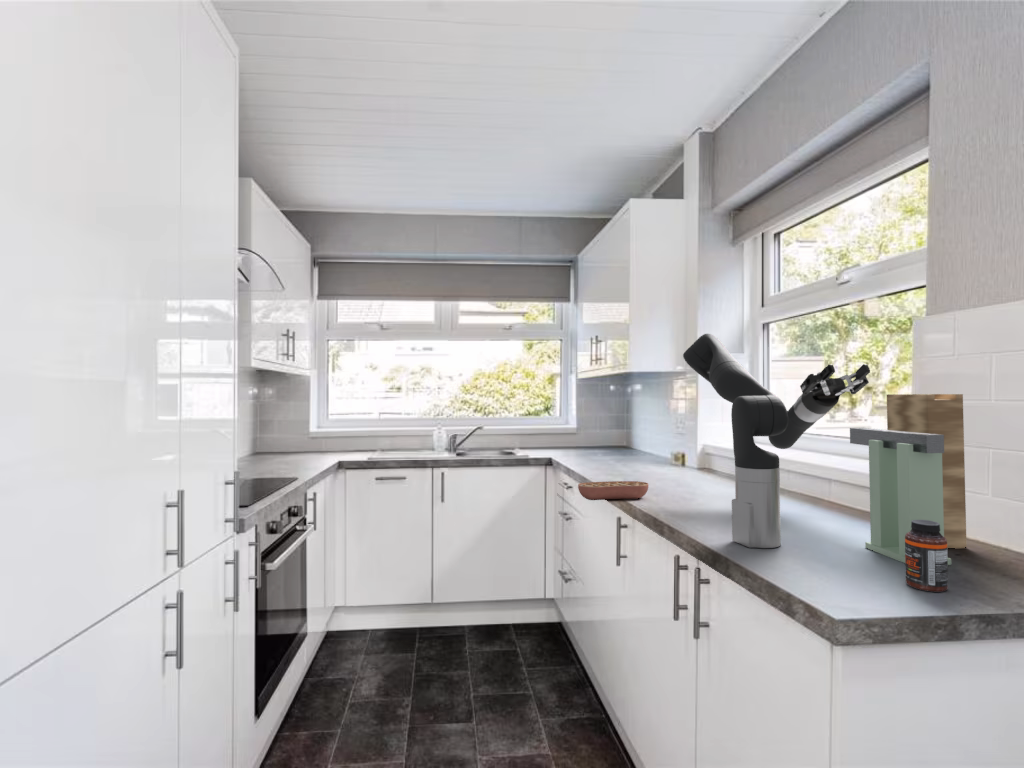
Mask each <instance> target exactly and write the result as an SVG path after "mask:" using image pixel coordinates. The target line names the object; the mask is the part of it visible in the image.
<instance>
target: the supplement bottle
mask: <svg viewBox="0 0 1024 768" xmlns="http://www.w3.org/2000/svg"><path fill="white" fill-rule="evenodd" d="M911 528H912V529H911V531H910V532H908V533H907V534H906V535H905V563H904V564H905V565H904V567H905V568H904V569H905V571H904V573H905V582H906V584H907V585H908V586H910V587H911V588H914V589H917V590H918V591H919V590H920V591H923V590H924V591H925V592H929V591H930V592H931V593H942V592H946V591H947V590H948V588H949V573H948V572H949V569H948V567H949V565H948V558H949V557H948V549H947V540H946V538H945V537H944V536H942V535H941V534H940V532H939V531H940V524H939V523H937V522H934V521H929V520H912V521H911Z"/></svg>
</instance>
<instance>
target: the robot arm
mask: <svg viewBox="0 0 1024 768" xmlns="http://www.w3.org/2000/svg"><path fill="white" fill-rule="evenodd" d="M682 356H683V360H684V361H685V362H686V363H687V365H688V366H689V367H690V368H691V369H693V370H694V371H695V372H696V373H697V374H698V375H700V376H701V377H702V378H704V380H706V381H707V382H708V383H710V385H711V386H712V388H713V389H714V390H715V392H716V393H717V394H718V395H719V396H720V398H722V399H724V400H725V401H727V402H729V403H731V429H732V431H731V432H732V443H733V445H732V446H733V448H732V449H733V455H734V471H735V472H734V478H735V480H734V481H735V482H734V485H735V486H734V489H735V498H732V499H731V534H732V536H731V537H732V540H731V541H732V542H734V543H738V544H740V545H742V546H745V547H747V548H759V549H774V548H777V547H778V548H779V547H780V546H781V545H782V538H781V537H782V536H781V535H782V533H781V532H782V531H781V529H782V528H781V491H780V490H781V487H780V480H781V479H780V458H779V455H778V454H777V453H776V452H775V453H774V452H771V451H769V450H765V449H762V448H761V447H759V446H758V445H756V443H755V439H754V437H768V441H769V442H770V444H771V445H772V446H773V447H774V448H777V449H778V450H779V449H780V450H786V449H790V448H791V447H792V446H794V444H795V443H796V442H797V441H798V440H799V439H800V438H801V436H802V435H803V434H804V433H805V432H806V431H807V430H808V429H809V428H811V427H812V426H814V424H816V422H817V421H819V420H820V419H821V418H823V417H824V416H825V415H826V414H827V413H829V412H830V411H831V410H832V409H833V408H835V406H836V405H837V404H838V402H839V400H840V396H841V395H843V394H845V393H847V392H849V393H850V394H851V395H855V394H858V392H860V391H861V390H862V389H863V388H864V387H866V386H867V385H868V384H869V380H868V378H867V376H868V375H869V374H870V373H871V369H870V366H869V365H868V364H866V363H865V364H862V365H861V366H860V367H859V368H858V369H856V371H855V372H854V373H852V374H849V375H848V374H844V375H842V376H840V377H835V378H834V377H832V376H833V375H834V374H835V373H836V369H835V367H834V365H833V364H828V365H827V366H825V367H824V368H823V369H822V370H821V371H819V372H817V373H816V374H815V375H814V373H810V374H808V375H807V377H805V379H804V380H803V382H802V383H801V384H800V385H799V387H800V389H801V392H802V393H801V395H800V396H798V397H797V399H796V401H795V402H794V404H793V405H792V406H791V407H789V409H787V408H786V406H785V403H784V402H783V401H782V400H781V398H780V397H779V396H777V395H776V394H774V393H773V392H772V391H771V390H769V389H768V388H766V387H765V386H764V385H762V384H761V383H760V382H759V381H758V380H757V379H756V378H755V377H754V376H753V375H752V374H751V373H750V372H749V371H748V370H747V368H745V367H744V365H742V364H741V363H740V362H739V361H738V360H737V358H735V357H734V356H733V355H732V354H731V353H730V351H729V350H728V349H727V347H726V346H725V345H724V344H723V342H722V341H721V340H720V339H719V338H718V337H716V336H715V335H714V334H711V333H704V334H702V335H700V336H699V337H698V338H697V339H696V340H695V341H694V342H693V343H692V344H691V345H690V346H689V347H688V348H687V349H686V350H685V351H684V353H683V354H682ZM852 379H853V380H852ZM845 380H846V382H847V386H846V383H845Z"/></svg>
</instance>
